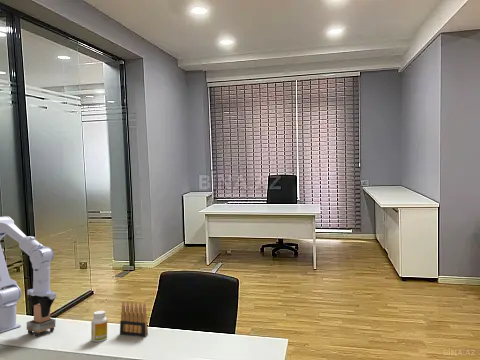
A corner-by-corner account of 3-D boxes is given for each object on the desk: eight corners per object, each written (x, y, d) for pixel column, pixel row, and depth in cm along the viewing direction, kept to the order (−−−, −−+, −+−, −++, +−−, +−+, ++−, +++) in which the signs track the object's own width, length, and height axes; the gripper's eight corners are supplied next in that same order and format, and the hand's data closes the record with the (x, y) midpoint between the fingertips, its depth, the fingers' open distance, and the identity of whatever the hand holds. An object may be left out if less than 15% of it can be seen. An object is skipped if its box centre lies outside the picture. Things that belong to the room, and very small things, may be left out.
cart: (26, 333, 143) (26, 322, 143) (43, 327, 149) (43, 316, 149) (38, 336, 139) (38, 325, 139) (55, 330, 145) (55, 319, 146)
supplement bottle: (110, 337, 138) (110, 311, 139) (99, 343, 134) (99, 315, 134) (99, 335, 141) (99, 309, 141) (88, 340, 136) (88, 313, 136)
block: (33, 320, 144) (33, 305, 144) (43, 317, 147) (43, 302, 147) (40, 322, 142) (40, 306, 142) (50, 319, 145) (50, 303, 145)
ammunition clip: (147, 335, 141) (148, 302, 141) (145, 337, 139) (145, 304, 140) (122, 332, 144) (122, 300, 144) (119, 334, 142) (119, 302, 142)
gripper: (19, 280, 145) (19, 315, 144) (44, 284, 138) (43, 321, 137) (37, 276, 151) (36, 310, 150) (61, 280, 144) (61, 316, 144)
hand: (41, 315), depth 144 cm, fingers closed on block, 4 cm apart
